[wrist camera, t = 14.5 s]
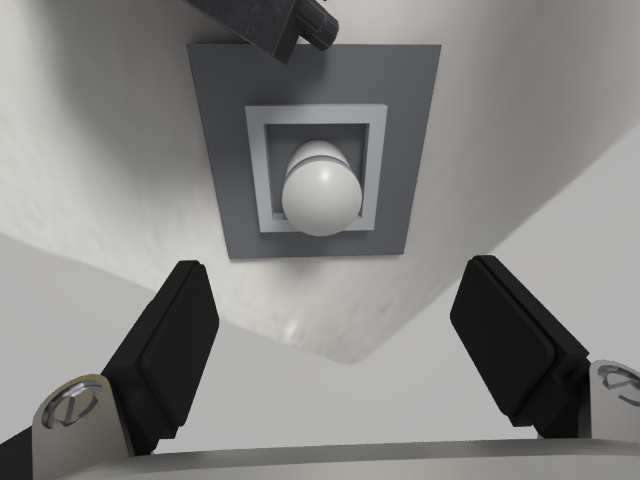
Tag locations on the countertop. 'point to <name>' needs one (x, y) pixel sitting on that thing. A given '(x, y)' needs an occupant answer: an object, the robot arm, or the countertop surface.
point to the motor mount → (313, 137)
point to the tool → (273, 23)
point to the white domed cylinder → (320, 189)
